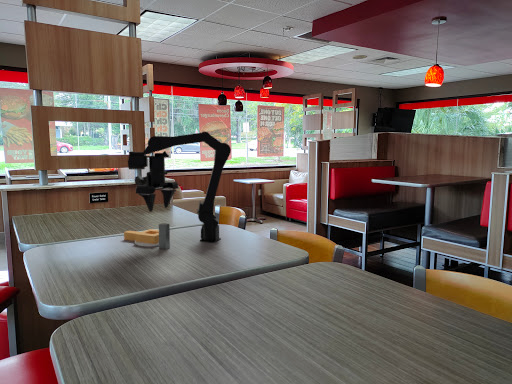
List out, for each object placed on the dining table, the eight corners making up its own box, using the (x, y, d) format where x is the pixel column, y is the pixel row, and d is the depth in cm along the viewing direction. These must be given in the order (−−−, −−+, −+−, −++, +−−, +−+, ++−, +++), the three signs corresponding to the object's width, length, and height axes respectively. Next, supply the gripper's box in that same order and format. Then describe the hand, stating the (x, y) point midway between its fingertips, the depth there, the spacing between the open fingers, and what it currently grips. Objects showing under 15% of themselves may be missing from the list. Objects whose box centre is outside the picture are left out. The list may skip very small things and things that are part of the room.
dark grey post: (169, 247, 138) (169, 223, 136) (166, 249, 135) (165, 225, 134) (162, 246, 139) (162, 223, 137) (159, 248, 136) (158, 224, 135)
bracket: (176, 239, 149) (175, 230, 148) (156, 248, 137) (156, 238, 136) (137, 235, 155) (137, 226, 155) (115, 242, 143) (114, 232, 143)
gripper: (155, 167, 154) (157, 204, 156) (123, 170, 137) (125, 212, 139) (178, 167, 149) (179, 206, 152) (147, 171, 133) (149, 214, 135)
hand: (158, 209), depth 144 cm, fingers open, 9 cm apart
